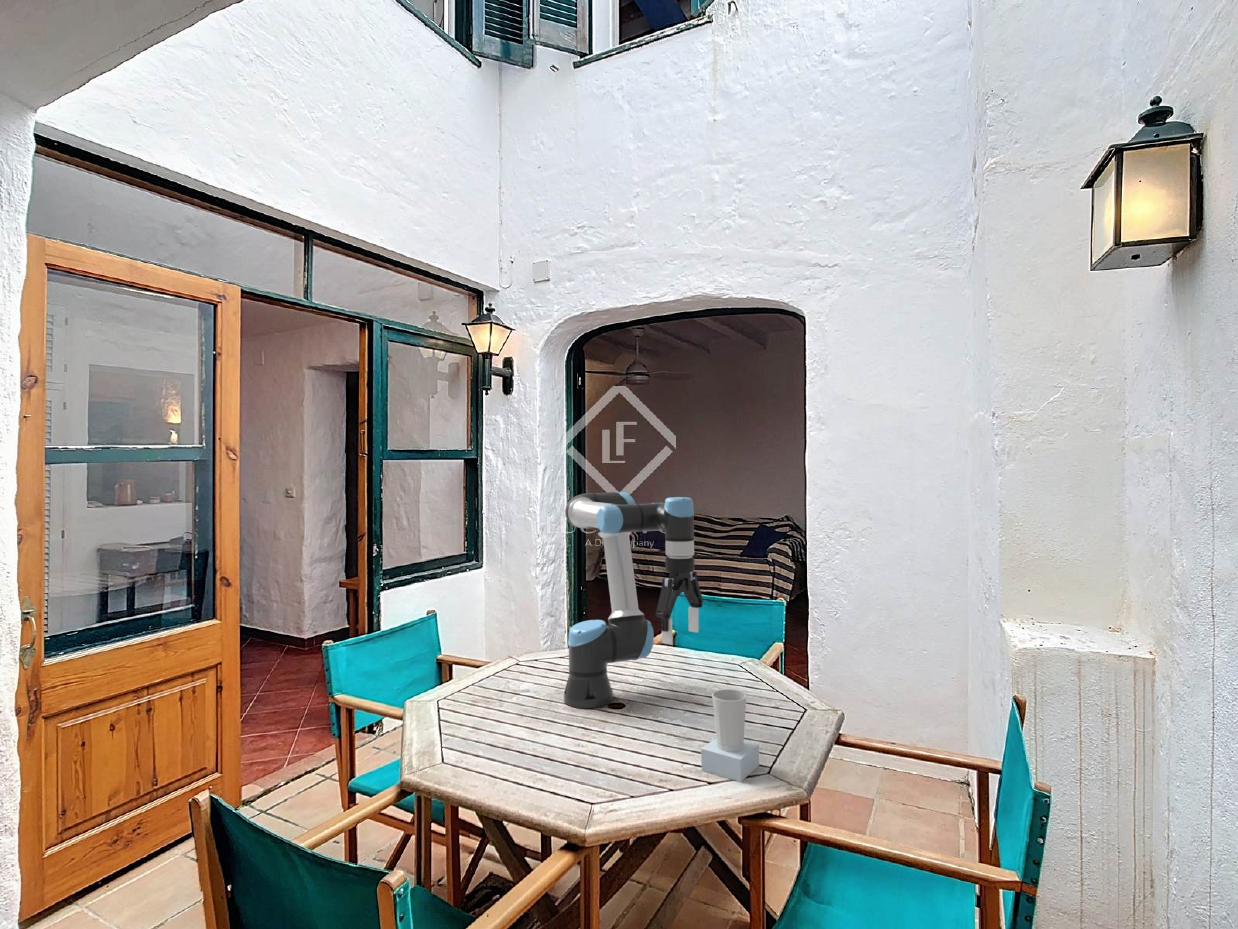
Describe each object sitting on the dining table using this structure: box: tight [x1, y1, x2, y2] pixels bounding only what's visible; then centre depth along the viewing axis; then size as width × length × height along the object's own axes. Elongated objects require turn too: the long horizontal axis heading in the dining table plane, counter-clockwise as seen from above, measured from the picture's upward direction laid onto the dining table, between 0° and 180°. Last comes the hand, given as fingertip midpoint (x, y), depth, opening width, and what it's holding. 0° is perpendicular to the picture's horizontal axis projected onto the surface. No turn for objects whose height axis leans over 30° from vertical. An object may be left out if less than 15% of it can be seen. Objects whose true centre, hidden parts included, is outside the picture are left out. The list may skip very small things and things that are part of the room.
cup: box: [711, 688, 747, 752], centre depth 150 cm, size 8×8×12 cm
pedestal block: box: [700, 737, 760, 783], centre depth 150 cm, size 10×10×5 cm
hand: (680, 637), depth 167 cm, fingers open, 13 cm apart
